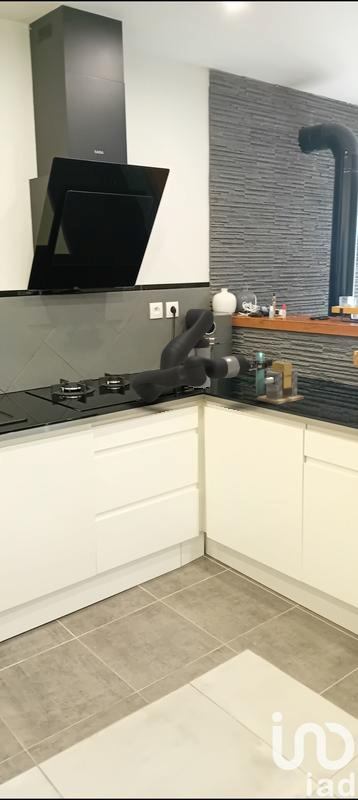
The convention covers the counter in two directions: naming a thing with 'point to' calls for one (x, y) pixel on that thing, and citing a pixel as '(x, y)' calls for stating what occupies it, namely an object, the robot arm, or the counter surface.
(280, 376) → the frame
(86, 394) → the counter surface
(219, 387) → the counter surface
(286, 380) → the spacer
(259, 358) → the shaft
